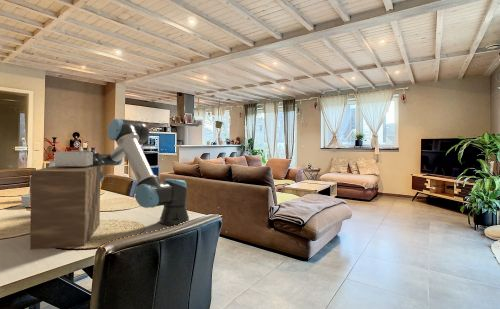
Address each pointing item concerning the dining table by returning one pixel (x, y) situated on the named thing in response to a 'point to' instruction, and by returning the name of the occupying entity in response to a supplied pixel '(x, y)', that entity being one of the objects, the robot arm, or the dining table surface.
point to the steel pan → (73, 158)
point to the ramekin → (25, 200)
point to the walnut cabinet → (64, 206)
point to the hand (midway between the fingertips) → (84, 148)
